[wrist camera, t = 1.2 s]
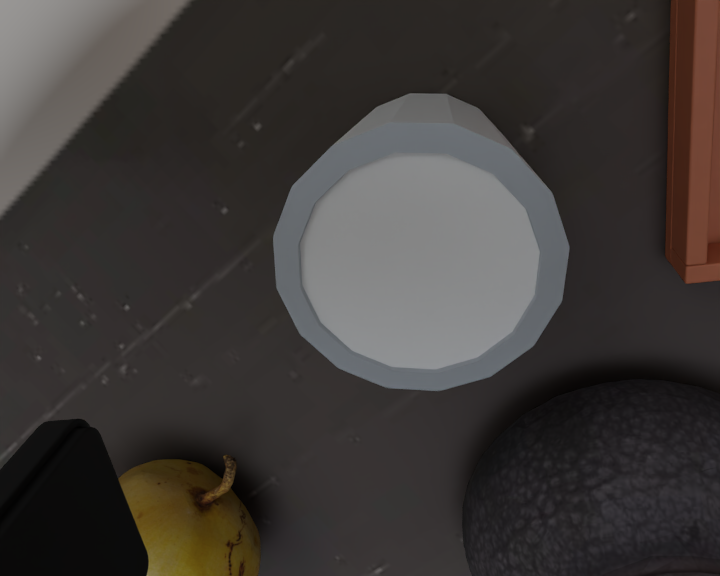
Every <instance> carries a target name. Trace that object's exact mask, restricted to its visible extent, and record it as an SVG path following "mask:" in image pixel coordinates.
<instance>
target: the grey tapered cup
mask: <svg viewBox="0 0 720 576" xmlns="http://www.w3.org/2000/svg"><path fill="white" fill-rule="evenodd" d="M273 245H274V259H275V274H276V288H277V290H278V292H279V294H280V296H281V298H282V300H283V302H284V304H285V306H286V308H287V310H288V312H289V314H290V316H291V318H292V320H293V322H294V324H295V326H296V328H297V330H298V331H299V333H300V335H301V336H303V337H304V338H305V339H306V340H307V341H308V342H309V343H310V344H312V345H313V346H314V347H315V348H316V349H317V350H318V351H319V352H321V353H322V354H323V355H324V356H325V357H326V358H327V359H328V360H330V361H331V362H332V363H333V364H334V365H335V366H336V367H337V368H339V369H341V370H344V371H346V372H349V373H351V374H354V375H356V376H359V377H361V378H364V379H366V380H368V381H371V382H373V383H376V384H378V385H381V386H383V387H386V388H397V389H414V390H431V391H441V390H445V389H449V388H452V387H456V386H459V385H463V384H466V383H470V382H474V381H477V380H481V379H484V378H488V377H491V376H492V375H494V374H495V373H497V372H498V371H499V370H501V369H502V368H504V367H505V366H506V365H508V364H509V363H511V362H512V361H513V360H515V359H516V358H518V357H519V356H520V355H522V354H523V353H525V352H526V351H527V350H529V349H530V348H531V347H533V346H534V345H535V343H536V342H537V340H538V338H539V337H540V335H541V334H542V332H543V330H544V329H545V327H546V326H547V324H548V323H549V321H550V319H551V318H552V316H553V315H554V313H555V311H556V310H557V308H558V307H559V305H560V304H561V302H562V298H563V291H564V284H565V277H566V270H567V263H568V255H569V248H570V247H569V244H568V241H567V238H566V234H565V231H564V228H563V225H562V222H561V218H560V215H559V212H558V209H557V206H556V203H555V199H554V196H553V193H552V192H551V191H550V190H549V189H548V187H547V186H546V185H545V184H544V183H543V181H542V180H541V179H540V178H539V177H538V176H537V174H536V173H535V172H534V171H533V170H532V168H531V167H530V166H529V165H528V164H527V163H526V161H525V160H524V159H523V158H522V157H521V155H520V154H519V153H518V152H517V151H516V150H515V148H514V147H513V146H512V145H511V144H510V142H509V141H508V140H507V139H506V138H505V137H504V135H503V134H502V133H501V132H500V131H499V130H498V129H497V128H496V127H495V125H494V124H493V123H492V122H491V121H490V120H489V119H488V118H487V117H486V116H485V115H484V113H483V112H482V111H481V110H480V109H479V108H477V107H475V106H472V105H470V104H468V103H466V102H463V101H461V100H459V99H457V98H454V97H452V96H450V95H448V94H424V93H409V94H407V95H405V96H402V97H400V98H397V99H395V100H392V101H390V102H387V103H385V104H382V105H380V106H378V107H376V108H375V109H374V110H373V111H371V112H370V113H369V114H368V115H367V116H366V117H364V118H363V119H362V120H361V121H360V122H359V123H358V124H356V125H355V126H354V127H353V128H352V129H351V130H350V131H348V132H347V133H346V134H345V135H344V136H343V137H341V138H340V139H339V140H338V141H337V142H336V143H335V144H333V145H332V146H331V147H330V148H329V149H328V150H327V151H326V152H325V153H324V154H323V155H322V156H321V157H320V158H319V159H318V160H317V161H316V162H315V163H314V164H313V165H312V166H311V167H310V168H309V170H308V171H307V172H306V173H305V174H304V175H303V176H302V177H301V178H300V179H299V180H298V181H297V182H296V183H295V184H294V185H293V186H292V187H291V190H290V193H289V195H288V198H287V201H286V203H285V206H284V209H283V211H282V214H281V217H280V219H279V222H278V225H277V227H276V230H275V233H274V235H273Z"/></svg>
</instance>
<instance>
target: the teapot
mask: <svg viewBox="0 0 720 576" xmlns="http://www.w3.org/2000/svg"><path fill="white" fill-rule="evenodd" d="M462 528H463V542H464V548H465V551H466V558H467V561H468V564H469V568H470V571H471V574H472V576H720V393H716V392H713V391H710V390H707V389H704V388H701V387H698V386H693V385H687V384H682V383H676V382H670V381H665V380H646V379H632V380H623V381H615V382H607V383H601V384H598V385H594V386H590V387H586V388H582V389H578V390H575V391H572V392H569V393H566V394H562V395H559V396H556V397H554V398H553V399H551V400H549V401H547V402H546V403H544V404H542V405H540V406H539V407H537V408H535V409H533V410H531V411H529V412H527V413H525V414H523V415H522V416H521V417H520V418H519V419H517V420H516V421H515V422H514V423H513V424H512V425H511V426H509V427H508V428H507V429H506V430H505V431H504V432H503V433H502V434H500V435H499V436H498V437H497V438H496V439H495V440H494V441H493V443H492V444H491V445H490V446H489V448H488V449H487V450H486V451H485V452H484V454H483V455H482V457H481V459H480V461H479V463H478V465H477V467H476V469H475V471H474V473H473V475H472V477H471V479H470V481H469V483H468V486H467V491H466V495H465V499H464V504H463V514H462Z"/></svg>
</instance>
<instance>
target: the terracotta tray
mask: <svg viewBox="0 0 720 576" xmlns="http://www.w3.org/2000/svg"><path fill="white" fill-rule="evenodd" d="M665 257H666V258H667V260H668V261H669V262H670V263H671V265H672V266H673V267H674V269H675V270H676V271H677V273H678V274H679V275H680V277H681V278H682V280H683V281H684V282H685V283H686V284H690V283H700V282H710V281H720V0H671V16H670V61H669V107H668V152H667V197H666V242H665Z"/></svg>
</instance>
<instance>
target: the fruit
mask: <svg viewBox="0 0 720 576" xmlns="http://www.w3.org/2000/svg"><path fill="white" fill-rule="evenodd" d="M223 459H224V463H225V466H226V470H225V472H224V477H223V479H222V478H220V477H219V476H218V475H216V474H215V473H214V472H212V471H211V470H210V469H209V468H207V467H206V466H204V465H203V464H200V463H197V462H192V461H187V460H181V459H163V460H154V461H151V462H148V463H145V464H142V465H139V466H136V467H134V468H132V469H130V470H128V471H127V472H125V473H124V474H123V475H122V476H121V477H120V478H118V480H119V483H120V485H121V488H122V490H123V493H124V495H125V498H126V500H127V503H128V505H129V508H130V510H131V513H132V515H133V518H134V520H135V523H136V525H137V528H138V530H139V533H140V535H141V538H142V540H143V543H144V545H145V548H146V550H147V553H148V559H149V566H148V572H147V576H258V572H259V567H260V558H261V552H260V536H259V532H258V530H257V527H256V526H255V524H254V522H253V520H252V518H251V516H250V514H249V512H248V511H247V509H246V507H245V506H244V504H243V503H242V502H241V501H240V500H239V498H238V497H237V496H236V495H235V493H234V492H233V490H232V489H231V488H230V487H231V486H232V484H233V481H234V478H235V474H236V469H237V465H236V459H235V458H233V457H232V456H230V455H224V456H223Z"/></svg>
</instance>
